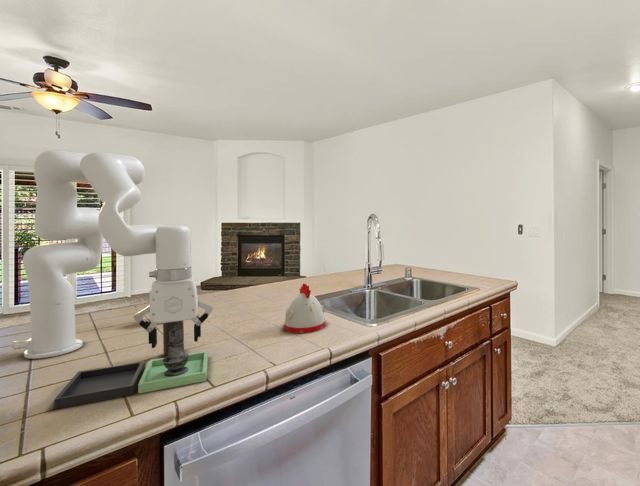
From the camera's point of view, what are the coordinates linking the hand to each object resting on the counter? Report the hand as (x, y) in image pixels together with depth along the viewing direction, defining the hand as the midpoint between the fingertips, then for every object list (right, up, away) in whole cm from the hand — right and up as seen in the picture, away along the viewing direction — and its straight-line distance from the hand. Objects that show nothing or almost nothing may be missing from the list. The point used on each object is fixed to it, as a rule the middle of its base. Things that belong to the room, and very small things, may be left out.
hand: (175, 342), depth 92 cm
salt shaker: (0, -8, 0) cm, 8 cm away
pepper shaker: (-8, -8, +13) cm, 17 cm away
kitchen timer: (+23, -7, +37) cm, 44 cm away
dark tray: (-13, -8, -6) cm, 17 cm away
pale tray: (0, -8, 0) cm, 8 cm away
